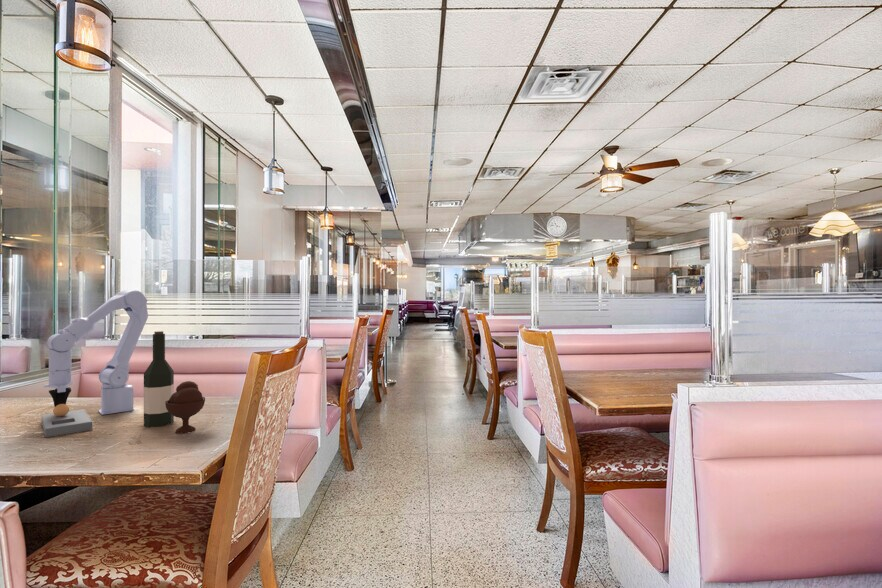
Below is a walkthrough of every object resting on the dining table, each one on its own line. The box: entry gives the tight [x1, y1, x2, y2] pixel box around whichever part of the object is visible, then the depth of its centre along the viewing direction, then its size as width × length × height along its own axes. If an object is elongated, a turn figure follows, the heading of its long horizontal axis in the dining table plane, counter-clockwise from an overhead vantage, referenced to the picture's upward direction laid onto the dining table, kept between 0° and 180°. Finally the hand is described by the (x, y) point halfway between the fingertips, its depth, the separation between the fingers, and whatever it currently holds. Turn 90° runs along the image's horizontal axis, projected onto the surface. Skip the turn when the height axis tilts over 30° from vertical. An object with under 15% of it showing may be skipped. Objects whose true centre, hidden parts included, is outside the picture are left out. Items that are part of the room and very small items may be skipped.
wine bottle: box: [143, 330, 175, 428], centre depth 146 cm, size 8×8×30 cm
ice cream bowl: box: [165, 380, 206, 434], centre depth 138 cm, size 11×11×15 cm
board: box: [41, 408, 93, 438], centre depth 144 cm, size 11×22×2 cm, turn 44°
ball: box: [52, 403, 70, 417], centre depth 146 cm, size 4×4×4 cm
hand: (60, 410), depth 150 cm, fingers closed
